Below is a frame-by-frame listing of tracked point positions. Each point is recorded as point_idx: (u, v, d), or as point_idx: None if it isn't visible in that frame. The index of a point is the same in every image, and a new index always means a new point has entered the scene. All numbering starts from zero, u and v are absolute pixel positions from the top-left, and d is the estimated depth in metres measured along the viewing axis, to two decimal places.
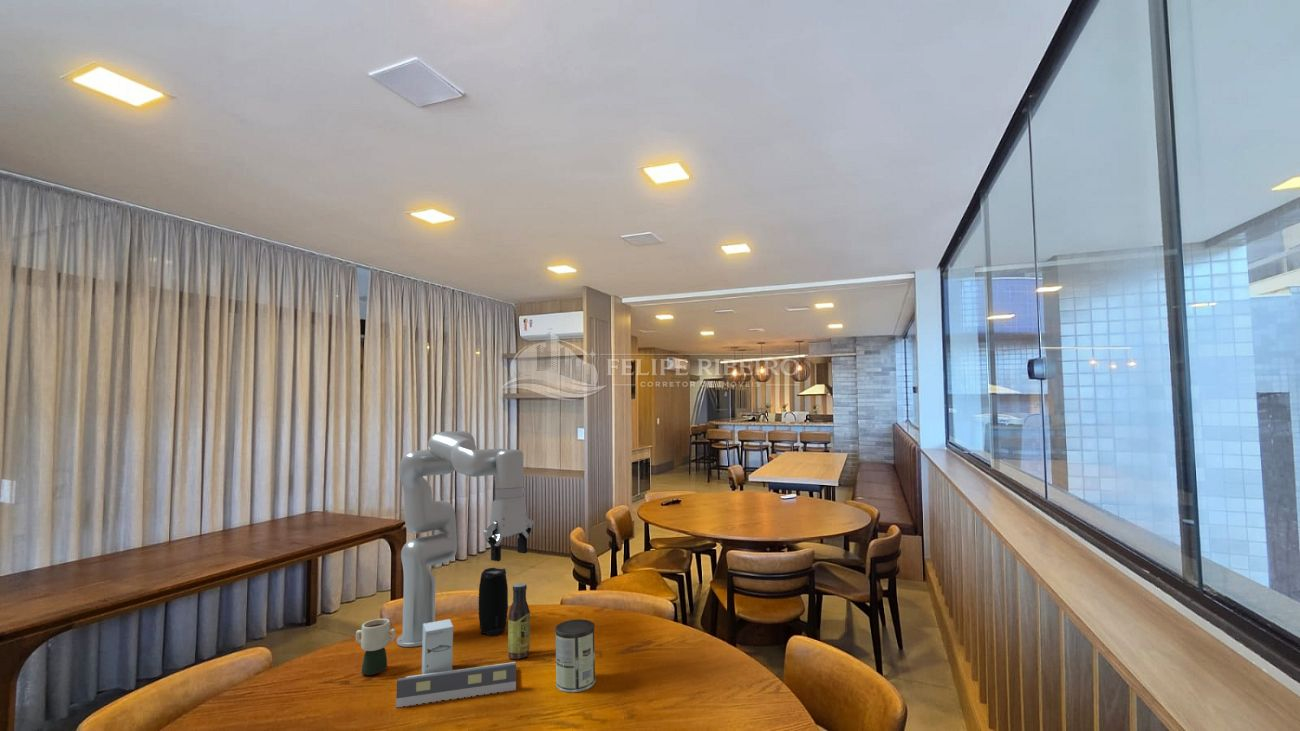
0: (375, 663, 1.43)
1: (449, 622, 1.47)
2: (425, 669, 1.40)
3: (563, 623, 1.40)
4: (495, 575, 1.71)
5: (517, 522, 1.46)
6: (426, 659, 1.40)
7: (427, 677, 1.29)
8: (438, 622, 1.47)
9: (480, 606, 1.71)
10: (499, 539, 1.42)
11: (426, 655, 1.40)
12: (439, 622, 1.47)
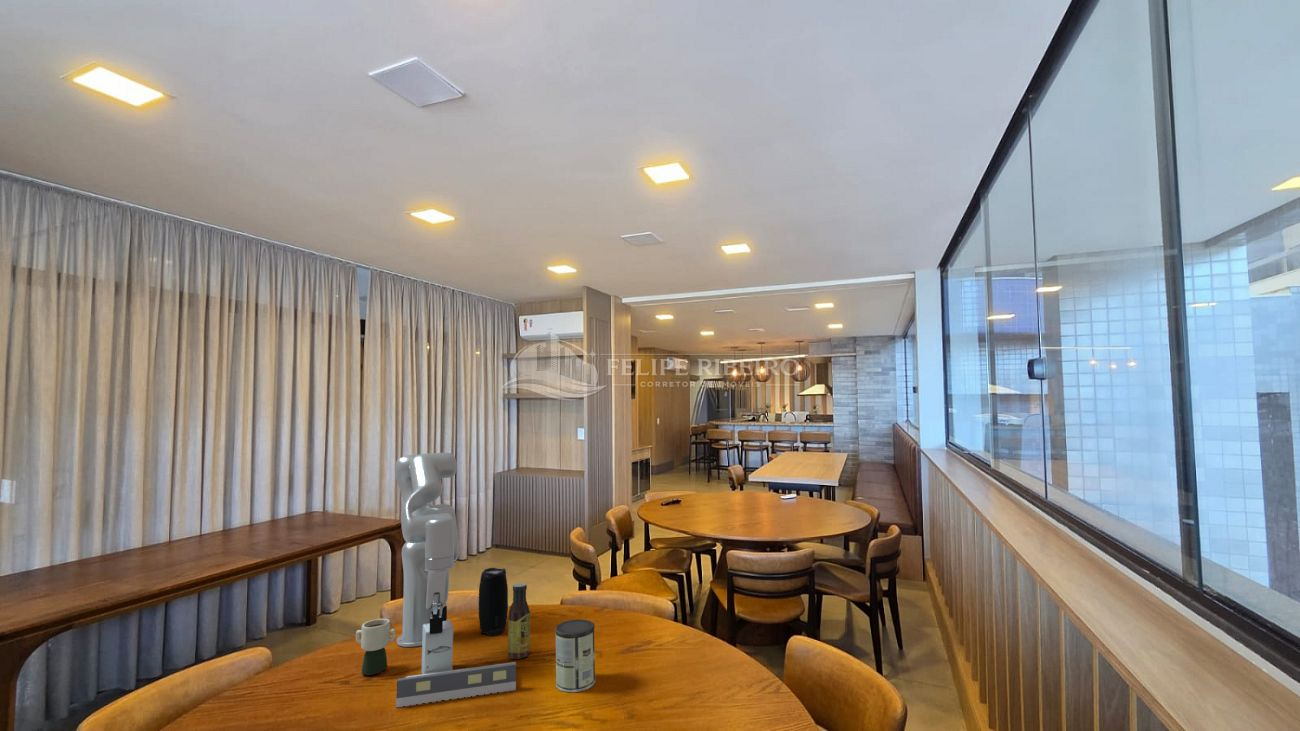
0: (375, 663, 1.43)
1: (449, 623, 1.47)
2: (425, 670, 1.40)
3: (563, 623, 1.40)
4: (495, 575, 1.71)
5: (448, 590, 1.47)
6: (426, 660, 1.40)
7: (427, 677, 1.29)
8: None
9: (480, 606, 1.71)
10: (441, 610, 1.41)
11: (426, 656, 1.40)
12: None
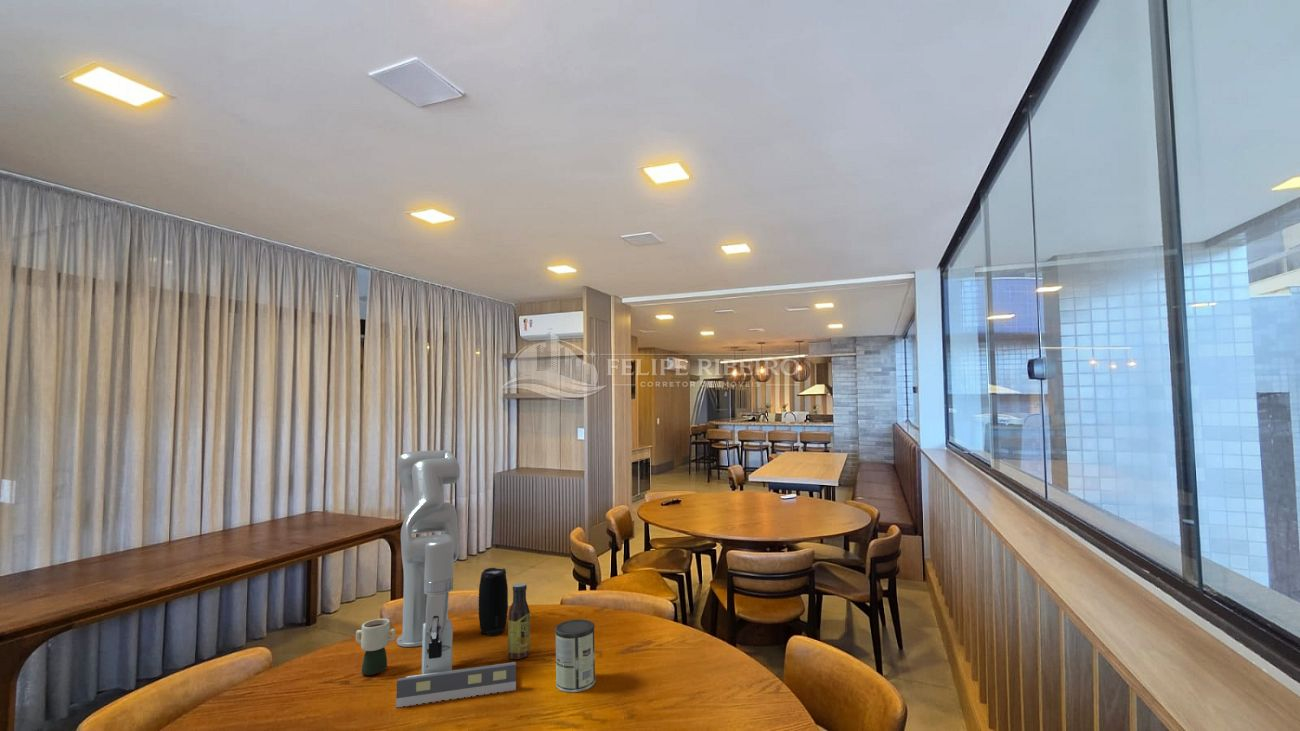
0: (375, 663, 1.43)
1: (449, 622, 1.47)
2: (425, 669, 1.40)
3: (563, 623, 1.40)
4: (495, 575, 1.71)
5: (447, 612, 1.47)
6: (426, 659, 1.40)
7: (427, 677, 1.29)
8: None
9: (480, 606, 1.71)
10: (440, 634, 1.41)
11: (426, 655, 1.40)
12: None
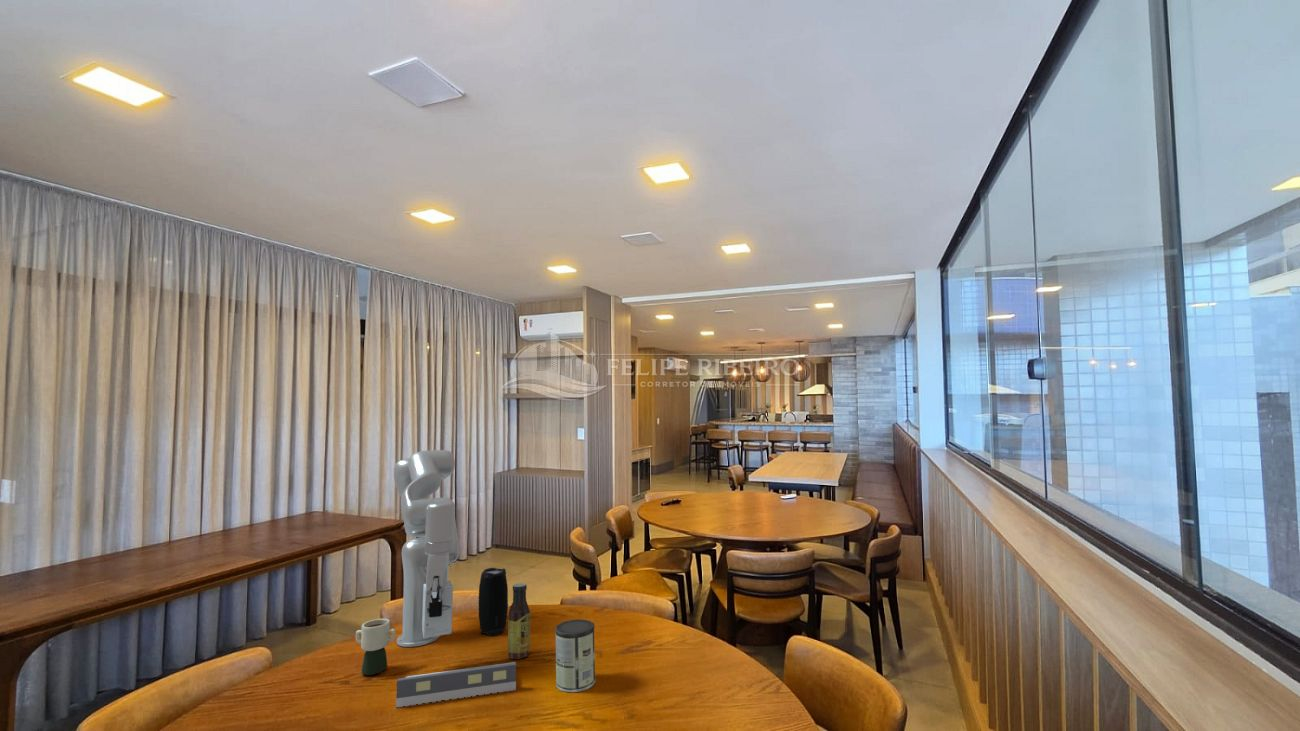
0: (375, 663, 1.43)
1: (449, 583, 1.49)
2: (425, 628, 1.42)
3: (563, 623, 1.40)
4: (495, 575, 1.71)
5: None
6: (426, 618, 1.42)
7: (427, 677, 1.29)
8: None
9: (480, 606, 1.71)
10: (441, 594, 1.43)
11: (426, 614, 1.42)
12: None
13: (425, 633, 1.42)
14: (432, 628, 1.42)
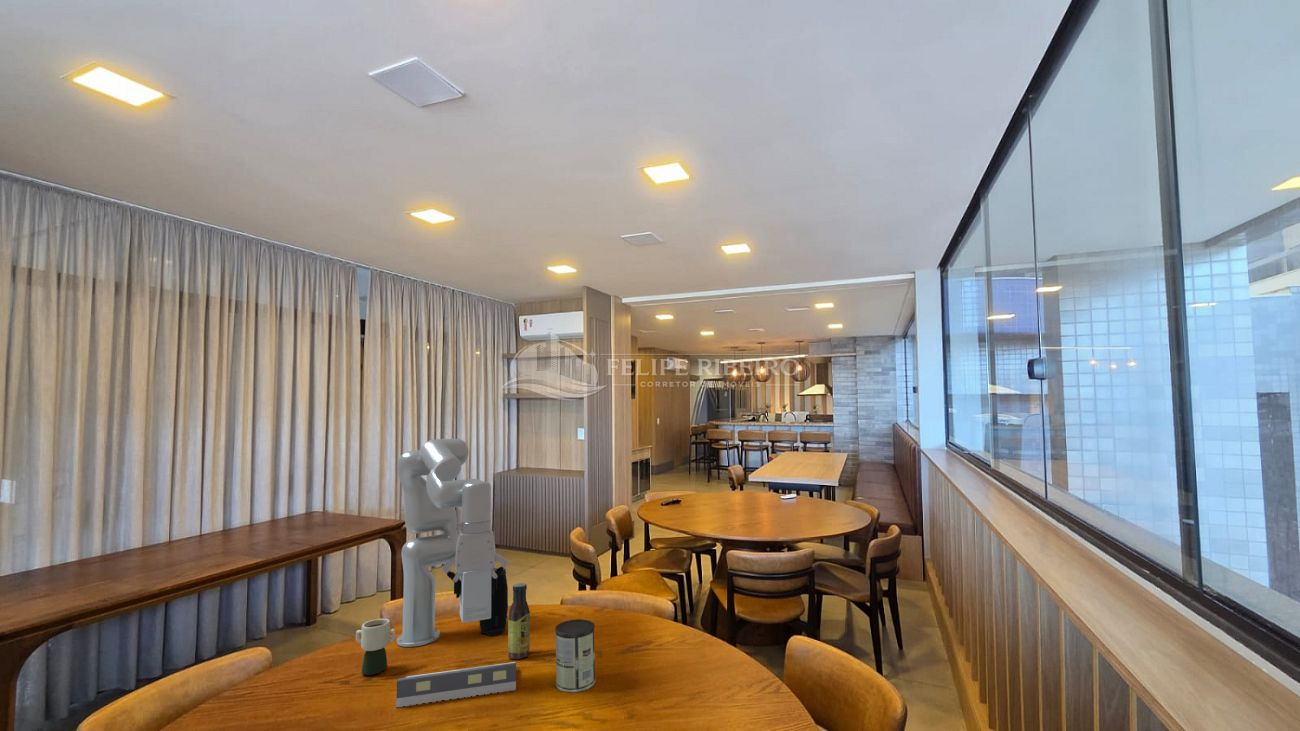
0: (375, 663, 1.43)
1: None
2: None
3: (563, 623, 1.40)
4: None
5: None
6: None
7: (427, 677, 1.29)
8: None
9: None
10: None
11: None
12: None
13: (490, 612, 1.38)
14: None
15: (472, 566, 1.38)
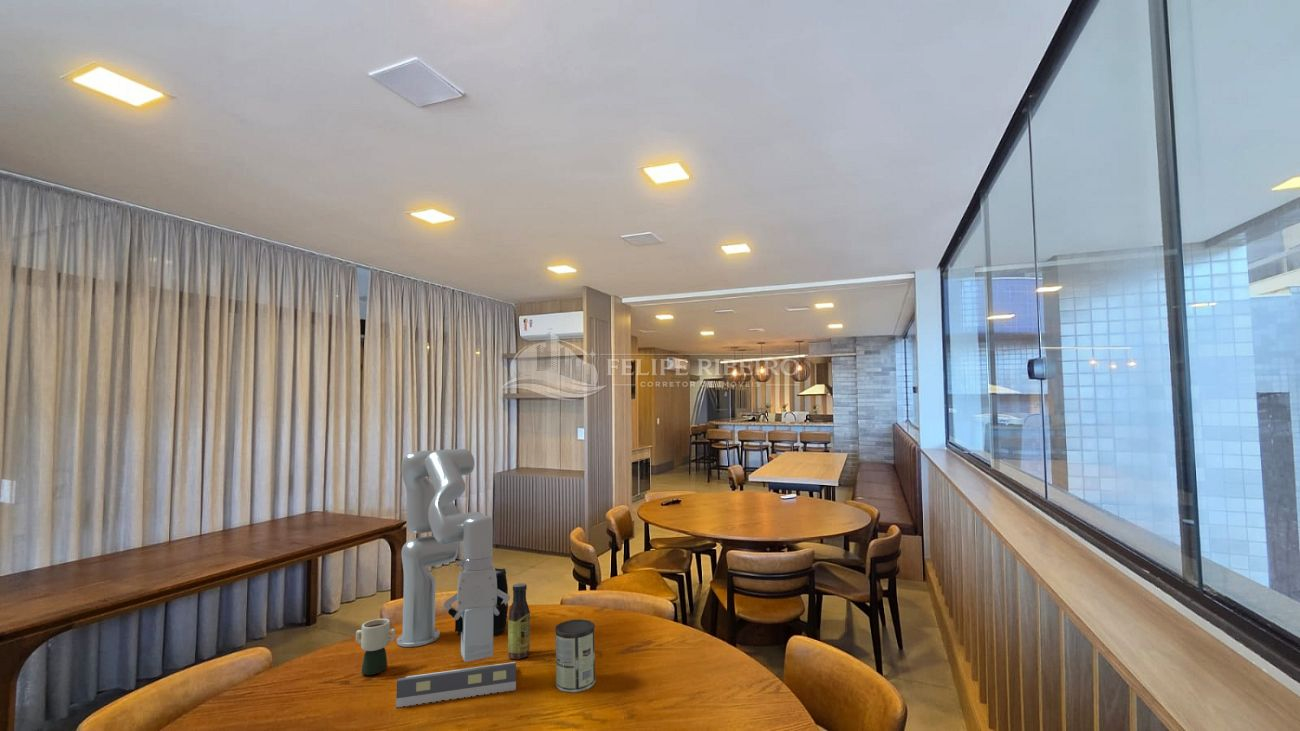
0: (375, 663, 1.43)
1: None
2: None
3: (563, 623, 1.40)
4: None
5: None
6: None
7: (427, 677, 1.29)
8: None
9: None
10: None
11: None
12: None
13: (492, 650, 1.37)
14: None
15: (474, 603, 1.37)
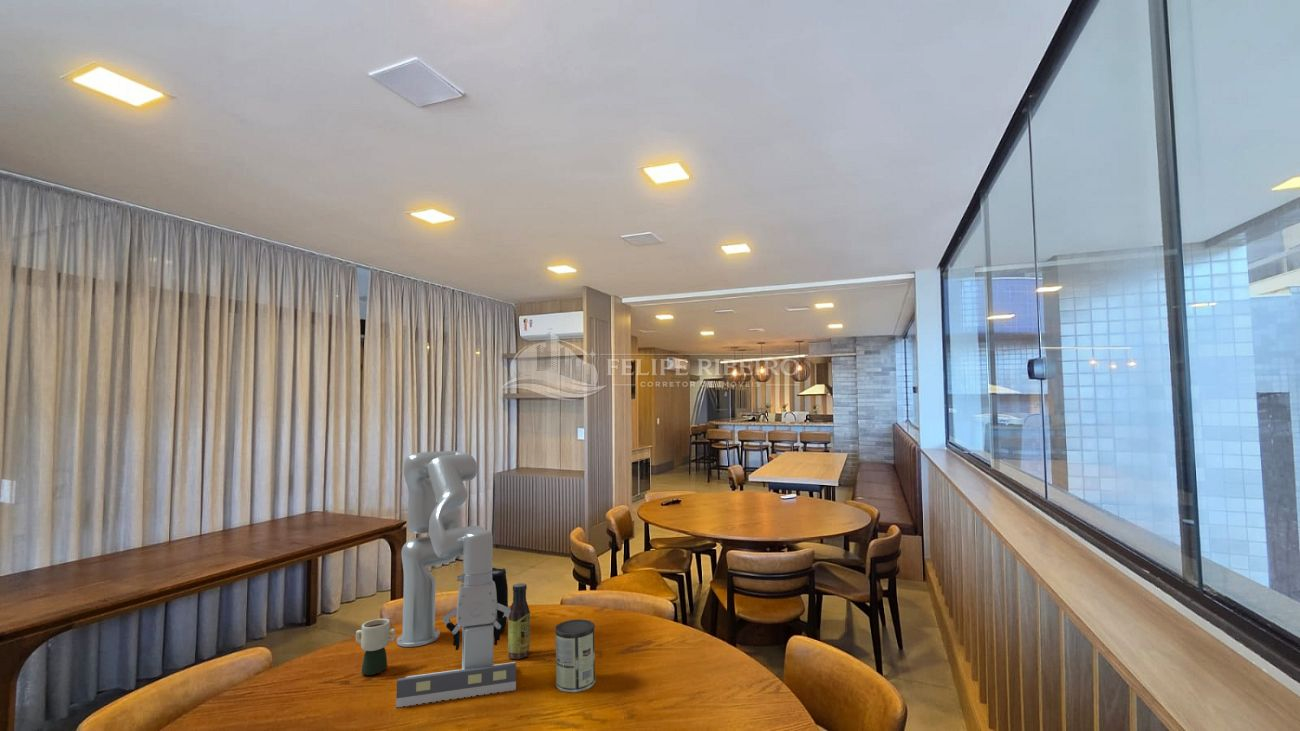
0: (375, 663, 1.43)
1: None
2: None
3: (563, 623, 1.40)
4: (495, 575, 1.71)
5: None
6: None
7: (427, 677, 1.29)
8: None
9: None
10: None
11: None
12: None
13: None
14: None
15: (474, 619, 1.36)
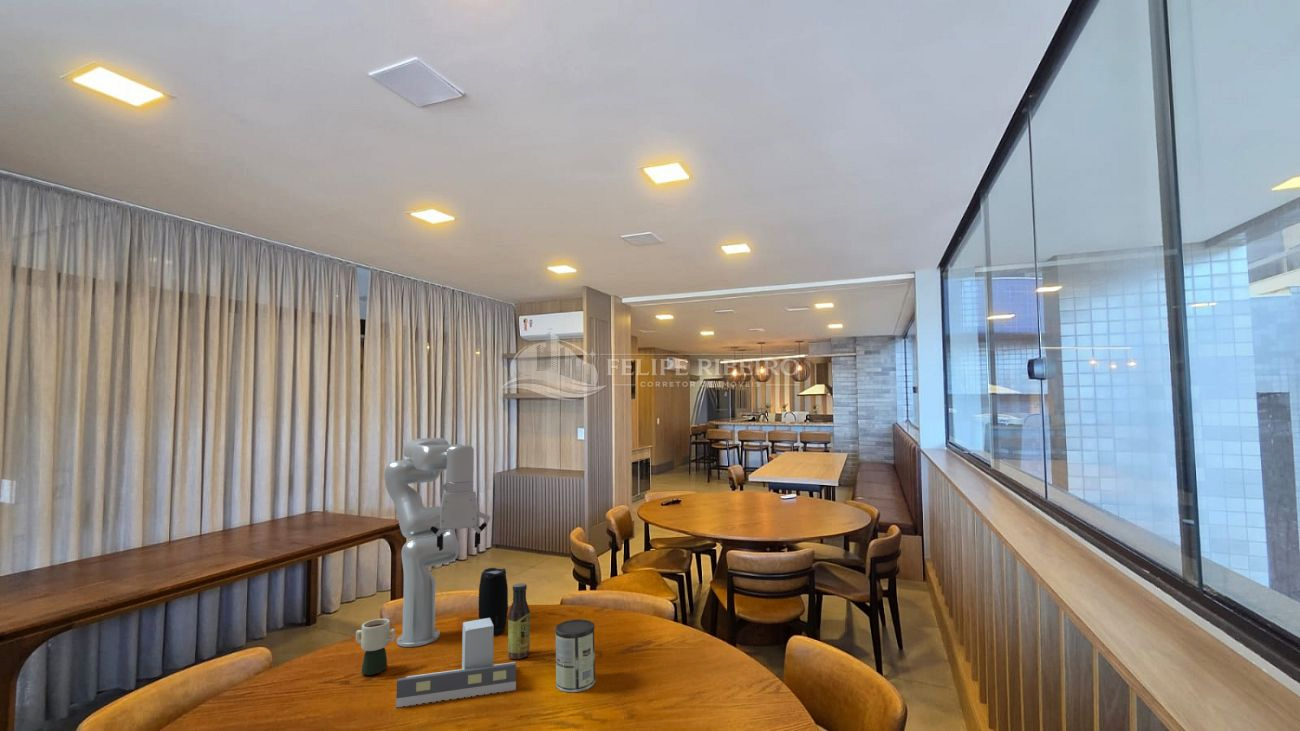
0: (375, 663, 1.43)
1: (476, 620, 1.42)
2: None
3: (563, 623, 1.40)
4: (495, 575, 1.71)
5: None
6: None
7: (427, 677, 1.29)
8: (471, 624, 1.39)
9: (480, 606, 1.71)
10: None
11: None
12: (471, 624, 1.39)
13: None
14: None
15: (456, 522, 1.49)
